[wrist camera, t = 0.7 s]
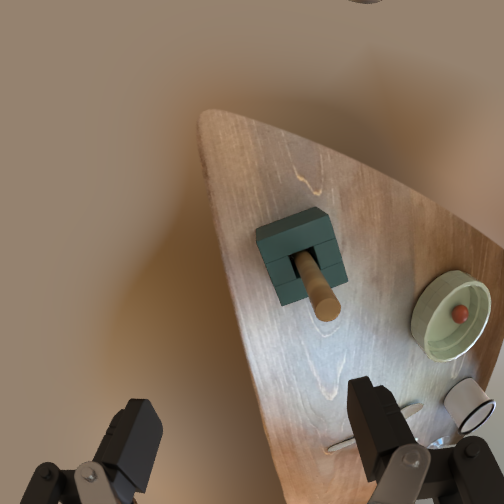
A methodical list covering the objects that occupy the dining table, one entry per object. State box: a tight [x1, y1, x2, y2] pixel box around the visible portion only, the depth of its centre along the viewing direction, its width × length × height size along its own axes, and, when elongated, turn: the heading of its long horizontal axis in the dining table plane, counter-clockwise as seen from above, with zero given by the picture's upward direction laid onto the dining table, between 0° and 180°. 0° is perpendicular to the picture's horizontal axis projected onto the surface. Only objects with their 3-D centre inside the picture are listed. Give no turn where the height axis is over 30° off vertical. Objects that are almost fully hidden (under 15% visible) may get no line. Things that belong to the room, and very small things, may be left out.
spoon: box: [328, 403, 424, 451], centre depth 43 cm, size 4×21×2 cm, turn 125°
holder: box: [256, 207, 348, 306], centre depth 31 cm, size 7×7×6 cm
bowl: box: [411, 270, 491, 363], centre depth 34 cm, size 13×13×5 cm
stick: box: [292, 248, 341, 322], centre depth 26 cm, size 2×2×16 cm
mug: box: [444, 378, 496, 436], centre depth 38 cm, size 12×10×9 cm
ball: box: [452, 304, 469, 324], centre depth 34 cm, size 3×3×3 cm
